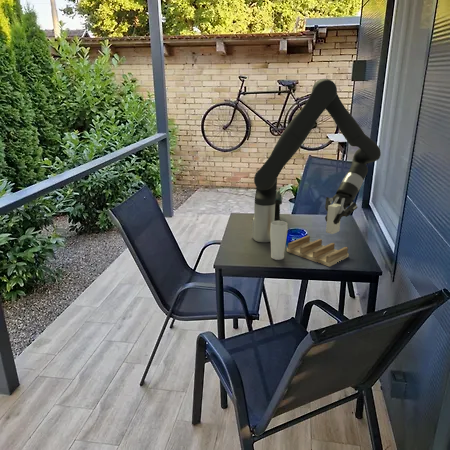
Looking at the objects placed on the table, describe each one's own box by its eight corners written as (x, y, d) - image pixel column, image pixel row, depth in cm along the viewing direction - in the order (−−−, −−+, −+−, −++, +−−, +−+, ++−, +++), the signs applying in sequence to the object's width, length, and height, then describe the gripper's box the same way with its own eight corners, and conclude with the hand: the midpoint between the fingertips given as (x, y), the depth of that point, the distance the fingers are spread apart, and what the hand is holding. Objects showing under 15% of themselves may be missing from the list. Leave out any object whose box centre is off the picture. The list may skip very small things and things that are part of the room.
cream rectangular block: (325, 232, 156) (328, 205, 152) (332, 229, 159) (335, 203, 155) (332, 234, 154) (334, 207, 150) (339, 231, 157) (341, 204, 153)
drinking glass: (273, 262, 157) (274, 226, 152) (266, 255, 163) (268, 221, 158) (288, 260, 158) (290, 225, 154) (281, 253, 165) (283, 219, 160)
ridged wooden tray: (286, 251, 167) (287, 242, 166) (306, 243, 176) (306, 234, 175) (329, 266, 152) (330, 257, 151) (348, 256, 162) (349, 247, 160)
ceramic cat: (281, 226, 198) (283, 187, 191) (268, 226, 198) (270, 187, 192) (277, 214, 217) (279, 179, 210) (265, 214, 217) (267, 179, 210)
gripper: (331, 178, 160) (312, 213, 156) (363, 184, 150) (343, 221, 146) (337, 189, 165) (318, 223, 161) (368, 195, 155) (349, 231, 151)
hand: (330, 222), depth 153 cm, fingers closed on cream rectangular block, 3 cm apart
